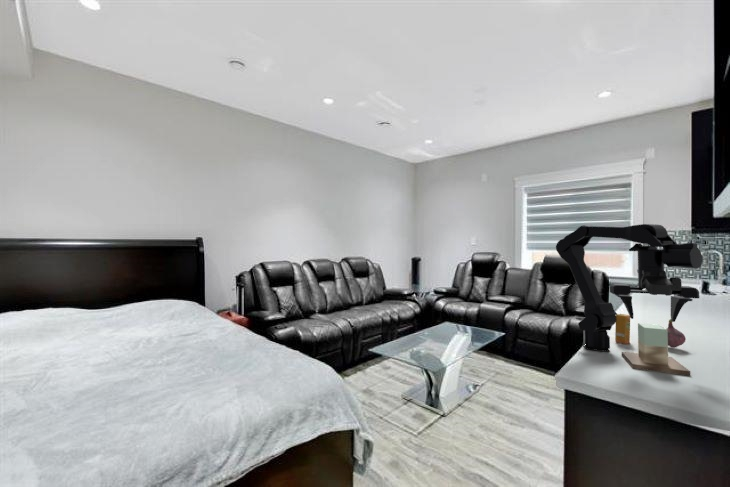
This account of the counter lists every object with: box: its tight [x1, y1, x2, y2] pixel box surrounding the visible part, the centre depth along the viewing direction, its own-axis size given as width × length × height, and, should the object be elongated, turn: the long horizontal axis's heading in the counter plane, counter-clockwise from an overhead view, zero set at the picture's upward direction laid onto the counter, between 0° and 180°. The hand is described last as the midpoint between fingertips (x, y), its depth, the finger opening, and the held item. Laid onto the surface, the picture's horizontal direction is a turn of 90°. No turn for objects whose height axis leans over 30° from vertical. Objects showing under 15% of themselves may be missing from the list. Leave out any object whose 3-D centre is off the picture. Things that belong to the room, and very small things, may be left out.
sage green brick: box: [637, 322, 669, 348], centre depth 92 cm, size 5×6×5 cm
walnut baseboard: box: [621, 351, 691, 377], centre depth 92 cm, size 12×12×1 cm
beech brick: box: [637, 339, 669, 365], centre depth 92 cm, size 5×6×5 cm
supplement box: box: [614, 313, 631, 345], centre depth 113 cm, size 3×3×10 cm
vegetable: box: [666, 318, 687, 349], centre depth 106 cm, size 6×6×10 cm
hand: (652, 320), depth 92 cm, fingers open, 9 cm apart
